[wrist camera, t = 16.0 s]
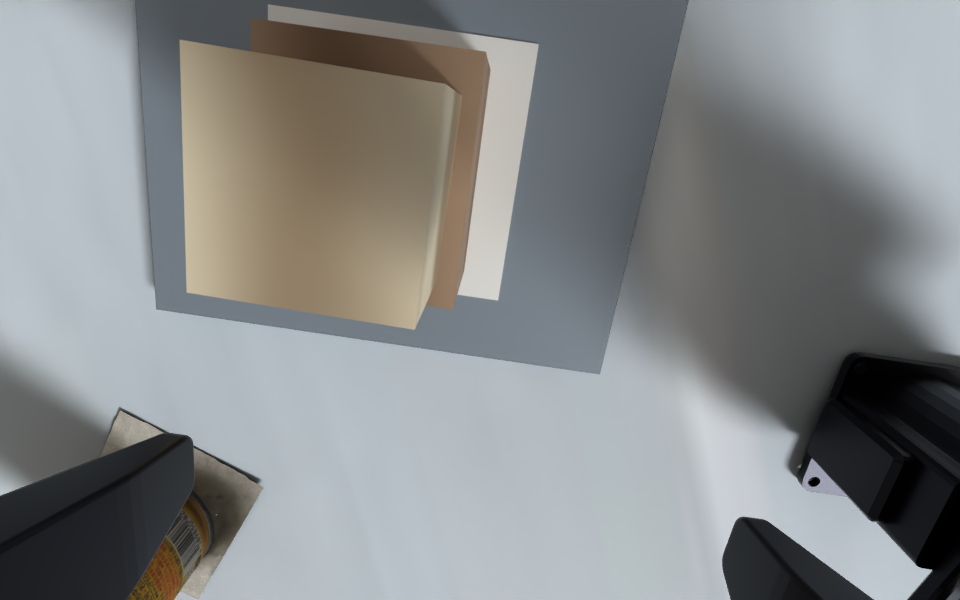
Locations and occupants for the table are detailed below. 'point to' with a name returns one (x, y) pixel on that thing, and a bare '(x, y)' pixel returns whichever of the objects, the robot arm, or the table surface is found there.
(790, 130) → the table surface
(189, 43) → the birch cube
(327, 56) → the walnut block
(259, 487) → the condiment
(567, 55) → the board
